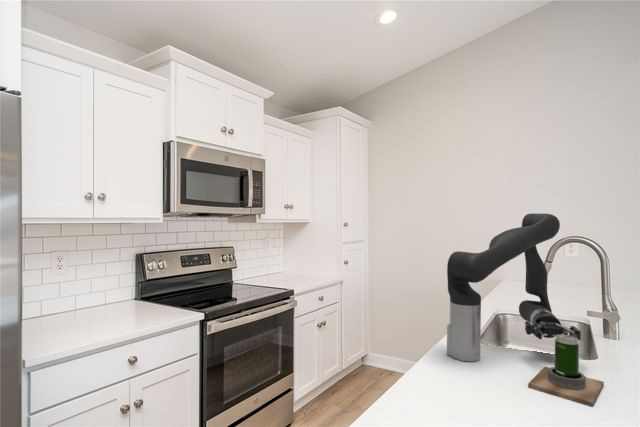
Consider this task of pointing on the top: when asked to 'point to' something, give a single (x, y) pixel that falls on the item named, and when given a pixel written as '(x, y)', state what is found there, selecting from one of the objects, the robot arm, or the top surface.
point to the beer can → (566, 356)
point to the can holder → (567, 386)
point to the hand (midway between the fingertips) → (557, 337)
